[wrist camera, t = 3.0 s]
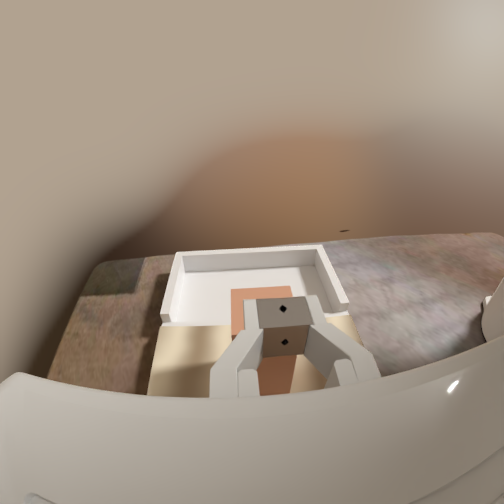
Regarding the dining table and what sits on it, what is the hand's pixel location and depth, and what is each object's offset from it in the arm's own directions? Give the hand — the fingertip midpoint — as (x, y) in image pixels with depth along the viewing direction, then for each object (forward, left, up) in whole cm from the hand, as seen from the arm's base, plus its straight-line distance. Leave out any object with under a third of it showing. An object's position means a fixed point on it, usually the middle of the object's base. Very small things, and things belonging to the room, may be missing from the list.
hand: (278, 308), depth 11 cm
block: (0, -7, -17) cm, 19 cm away
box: (0, -22, -20) cm, 30 cm away
